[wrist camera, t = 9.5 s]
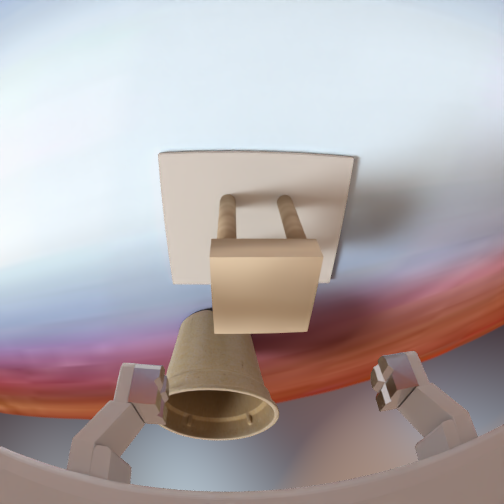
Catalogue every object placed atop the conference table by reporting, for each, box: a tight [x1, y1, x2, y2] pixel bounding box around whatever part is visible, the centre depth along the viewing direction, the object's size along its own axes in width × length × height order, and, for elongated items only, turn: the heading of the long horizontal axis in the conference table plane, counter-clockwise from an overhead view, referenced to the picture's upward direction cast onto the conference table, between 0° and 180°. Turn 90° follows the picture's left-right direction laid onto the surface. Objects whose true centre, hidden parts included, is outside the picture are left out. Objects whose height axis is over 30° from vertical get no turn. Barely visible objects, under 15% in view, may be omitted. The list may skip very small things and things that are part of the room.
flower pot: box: [159, 310, 279, 440], centre depth 24 cm, size 9×9×9 cm
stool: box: [210, 194, 323, 334], centre depth 18 cm, size 5×5×7 cm
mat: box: [158, 151, 354, 284], centre depth 21 cm, size 10×12×1 cm
